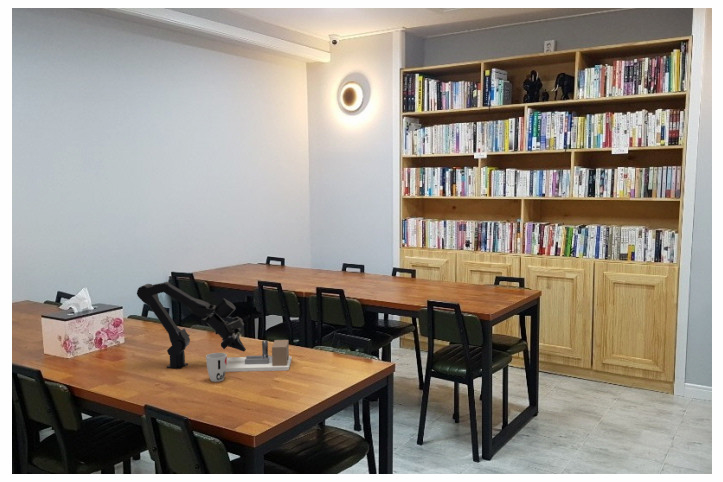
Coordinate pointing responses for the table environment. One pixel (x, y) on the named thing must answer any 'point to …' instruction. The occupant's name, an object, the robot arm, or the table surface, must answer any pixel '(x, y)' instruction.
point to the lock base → (263, 360)
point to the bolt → (265, 351)
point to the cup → (216, 366)
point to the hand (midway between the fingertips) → (245, 350)
